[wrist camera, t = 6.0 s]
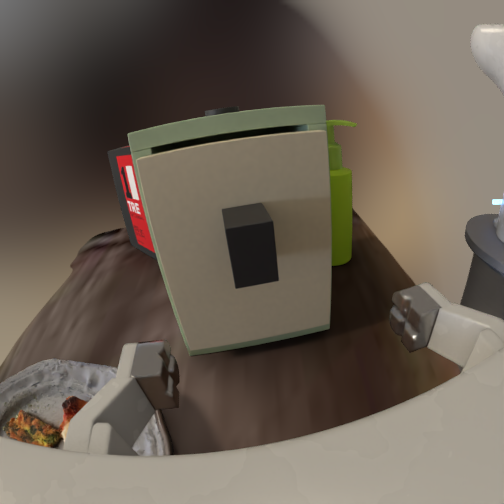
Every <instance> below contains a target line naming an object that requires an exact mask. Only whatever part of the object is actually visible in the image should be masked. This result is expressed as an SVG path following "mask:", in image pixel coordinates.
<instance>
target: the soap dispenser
mask: <svg viewBox="0 0 504 504" xmlns="http://www.w3.org/2000/svg"><path fill="white" fill-rule="evenodd" d="M326 125H327V137H328V151H329V167H330V187H331V220H332V266H337V265H342V264H345V263H347V262H348V261H349V260H350V259H351V251H352V171H351V170H350V169H347V168H344V167H342V151H341V145H339V144H337V143H336V142H335V140H334V127H333V125H346V126H352V127H355V126H356V125H357V124H356V123H353V122H349V121H344V120H328V121H326Z"/></svg>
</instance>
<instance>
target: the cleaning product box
mask: <svg viewBox="0 0 504 504" xmlns="http://www.w3.org/2000/svg"><path fill="white" fill-rule="evenodd" d="M131 153H132V152H131V150H130V145H128V146H125V147H121V148H118V149H114V150H111V151H108V156H109V161H110V165H111V170H112V174H113V178H114V183H115V187H116V191H117V195H118V199H119V202H120V206H121V210H122V214H123V217H124V221H125V224H126V228H127V232H128V235H129V238H130V242H131V245H132V246H134V247H136V248H137V249H139V250H141V251H142V252H144V253H146V254H147V255H149V256H151V257H152V258H154V259H156V260H157V256H156V253H155V249H154V246H153V242H152V238H151V235H150V231H149V227H148V224H147V220H146V216H145V212H144V208H143V204H142V200H141V195H140V191H139V187H138V183H137V178H136V174H135V169H134V164H133V159H132V154H131ZM157 261H158V260H157Z"/></svg>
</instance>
